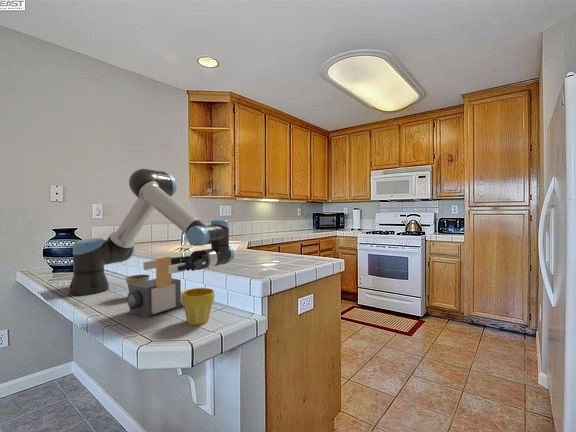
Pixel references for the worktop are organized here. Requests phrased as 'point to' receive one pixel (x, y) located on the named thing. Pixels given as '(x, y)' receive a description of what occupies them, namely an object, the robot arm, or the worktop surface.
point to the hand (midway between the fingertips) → (155, 268)
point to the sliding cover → (163, 287)
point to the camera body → (148, 297)
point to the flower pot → (136, 279)
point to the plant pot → (197, 304)
